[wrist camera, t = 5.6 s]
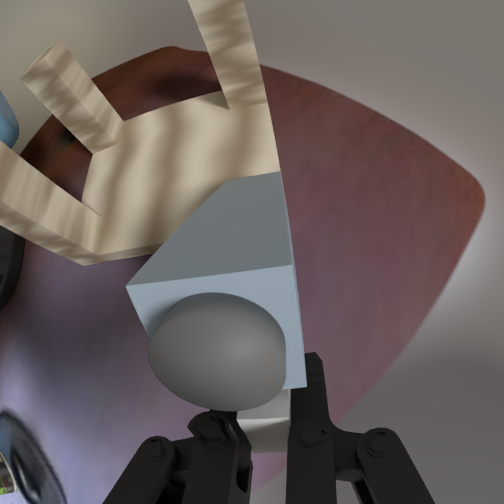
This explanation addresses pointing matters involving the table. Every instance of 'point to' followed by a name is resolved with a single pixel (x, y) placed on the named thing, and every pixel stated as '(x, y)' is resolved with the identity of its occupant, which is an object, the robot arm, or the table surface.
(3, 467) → the coffee can
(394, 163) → the table surface
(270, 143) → the upturned stool
